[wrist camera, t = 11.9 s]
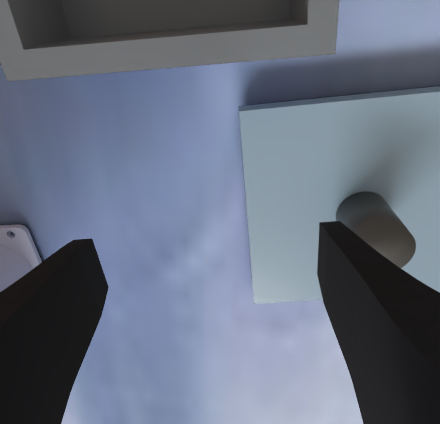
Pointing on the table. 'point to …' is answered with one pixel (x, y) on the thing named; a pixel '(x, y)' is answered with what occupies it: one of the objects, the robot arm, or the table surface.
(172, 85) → the table surface
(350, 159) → the lid
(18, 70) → the storage box
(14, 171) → the table surface
